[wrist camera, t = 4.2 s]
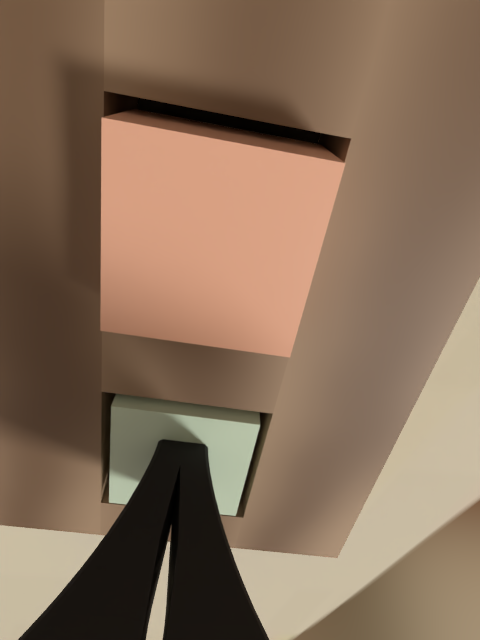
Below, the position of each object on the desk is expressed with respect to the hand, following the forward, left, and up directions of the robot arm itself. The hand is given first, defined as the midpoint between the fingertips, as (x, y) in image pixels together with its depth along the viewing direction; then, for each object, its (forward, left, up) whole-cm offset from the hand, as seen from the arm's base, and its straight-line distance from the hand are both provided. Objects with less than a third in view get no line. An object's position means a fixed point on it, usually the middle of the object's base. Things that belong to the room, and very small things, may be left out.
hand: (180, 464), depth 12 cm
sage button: (0, 0, -2) cm, 2 cm away
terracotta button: (0, +7, -1) cm, 7 cm away
